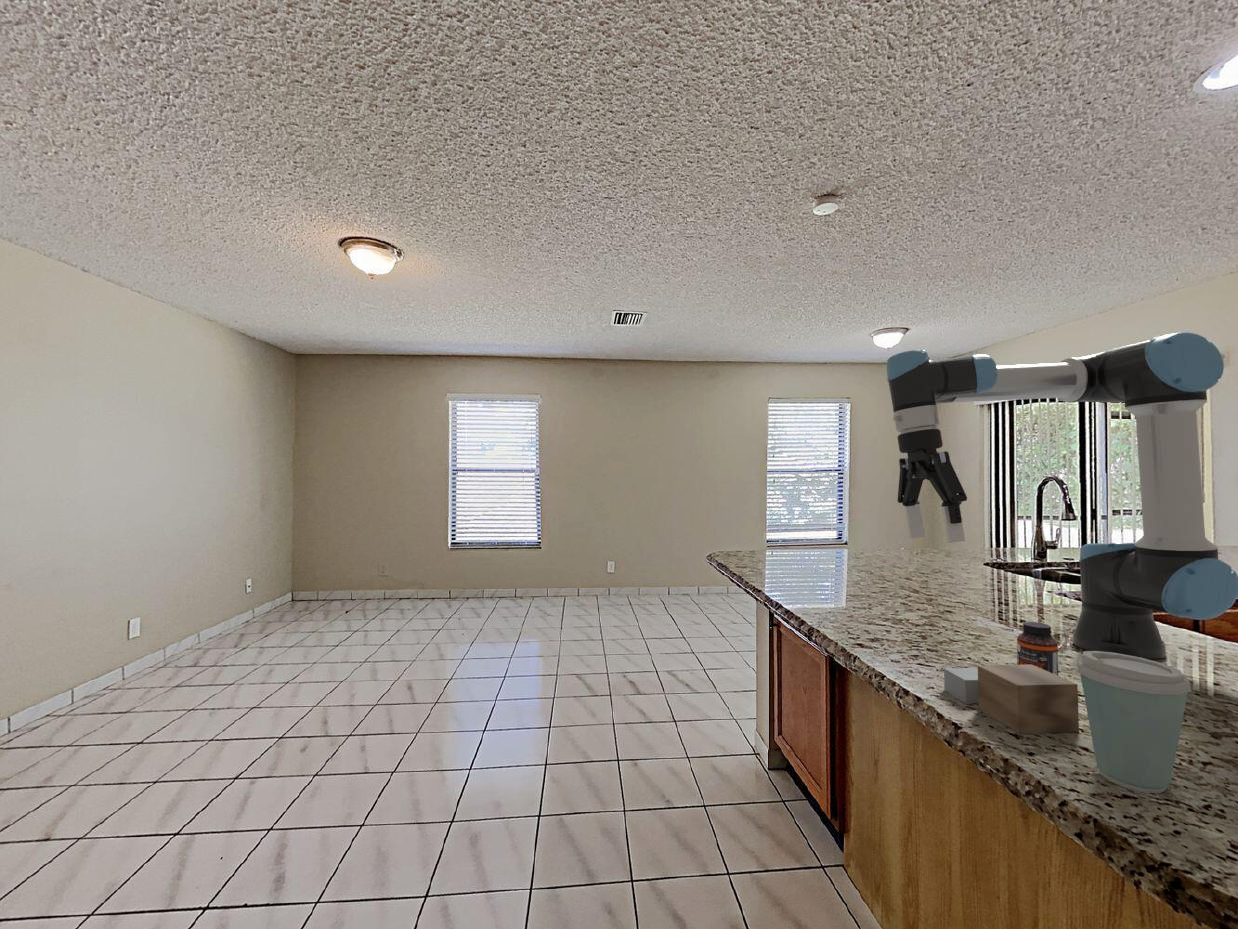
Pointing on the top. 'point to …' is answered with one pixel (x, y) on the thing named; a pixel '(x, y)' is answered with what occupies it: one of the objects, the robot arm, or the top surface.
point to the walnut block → (1028, 698)
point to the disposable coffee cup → (1133, 717)
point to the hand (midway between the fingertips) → (935, 539)
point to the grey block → (962, 683)
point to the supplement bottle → (1037, 647)
